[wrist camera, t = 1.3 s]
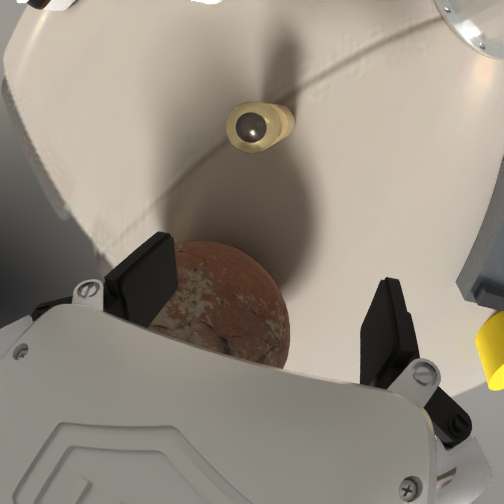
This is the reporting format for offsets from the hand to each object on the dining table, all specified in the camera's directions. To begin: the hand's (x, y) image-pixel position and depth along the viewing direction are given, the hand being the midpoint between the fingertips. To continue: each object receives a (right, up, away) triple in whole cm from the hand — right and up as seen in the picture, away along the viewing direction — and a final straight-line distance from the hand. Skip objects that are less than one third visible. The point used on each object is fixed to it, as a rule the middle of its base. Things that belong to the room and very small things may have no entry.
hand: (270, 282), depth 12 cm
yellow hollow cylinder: (+42, -12, +19) cm, 47 cm away
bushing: (+2, +15, +15) cm, 22 cm away
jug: (-4, -3, +28) cm, 29 cm away
